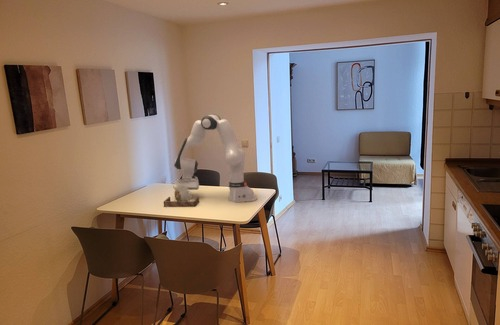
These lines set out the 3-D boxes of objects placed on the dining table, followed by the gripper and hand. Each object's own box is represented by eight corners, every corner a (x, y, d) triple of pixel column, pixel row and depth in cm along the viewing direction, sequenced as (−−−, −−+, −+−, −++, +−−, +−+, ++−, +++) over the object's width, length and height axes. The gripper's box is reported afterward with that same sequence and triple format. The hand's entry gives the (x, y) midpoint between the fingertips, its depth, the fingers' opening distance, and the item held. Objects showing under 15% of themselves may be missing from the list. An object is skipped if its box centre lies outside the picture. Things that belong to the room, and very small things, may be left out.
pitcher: (187, 206, 285) (186, 188, 282) (169, 203, 294) (168, 186, 292) (197, 202, 294) (195, 185, 292) (179, 199, 303) (177, 182, 301)
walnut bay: (199, 201, 296) (199, 196, 295) (195, 206, 283) (194, 201, 282) (169, 201, 299) (168, 196, 298) (163, 206, 286) (163, 201, 285)
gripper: (173, 177, 306) (170, 192, 298) (198, 176, 303) (196, 191, 296) (175, 181, 311) (173, 195, 303) (200, 180, 309) (198, 195, 301)
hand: (184, 194), depth 300 cm, fingers closed
